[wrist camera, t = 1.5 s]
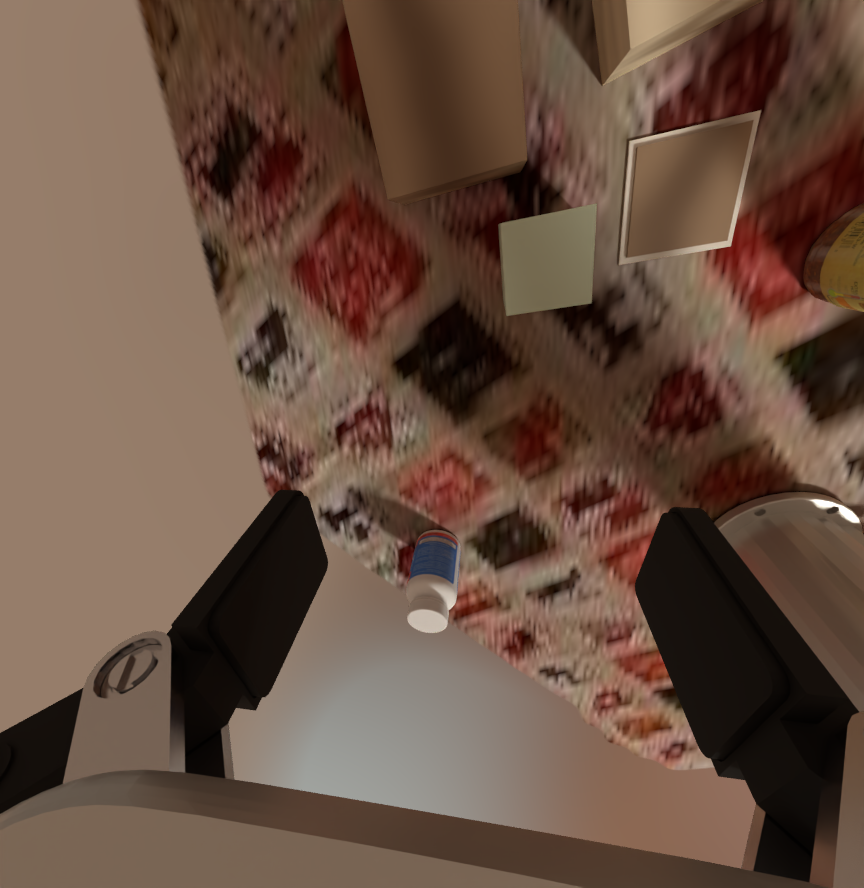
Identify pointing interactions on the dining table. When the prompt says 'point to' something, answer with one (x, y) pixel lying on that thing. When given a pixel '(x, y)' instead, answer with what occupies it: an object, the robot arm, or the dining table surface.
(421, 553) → the pill bottle
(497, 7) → the tan square block
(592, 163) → the dining table surface
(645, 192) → the swatch
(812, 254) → the sauce bottle
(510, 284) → the sage block
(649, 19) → the beech block
